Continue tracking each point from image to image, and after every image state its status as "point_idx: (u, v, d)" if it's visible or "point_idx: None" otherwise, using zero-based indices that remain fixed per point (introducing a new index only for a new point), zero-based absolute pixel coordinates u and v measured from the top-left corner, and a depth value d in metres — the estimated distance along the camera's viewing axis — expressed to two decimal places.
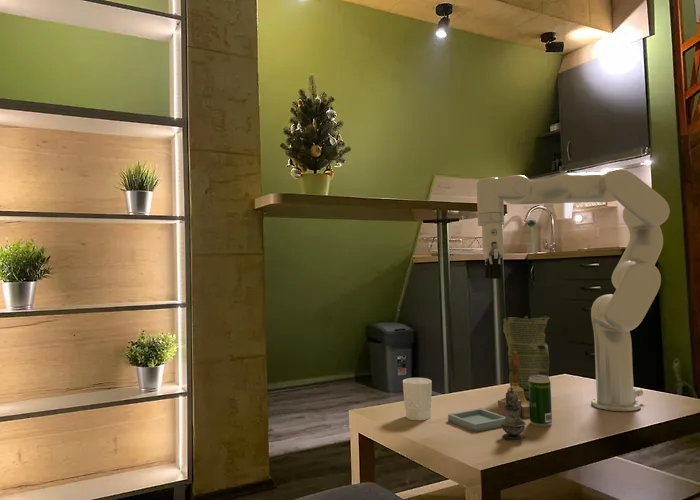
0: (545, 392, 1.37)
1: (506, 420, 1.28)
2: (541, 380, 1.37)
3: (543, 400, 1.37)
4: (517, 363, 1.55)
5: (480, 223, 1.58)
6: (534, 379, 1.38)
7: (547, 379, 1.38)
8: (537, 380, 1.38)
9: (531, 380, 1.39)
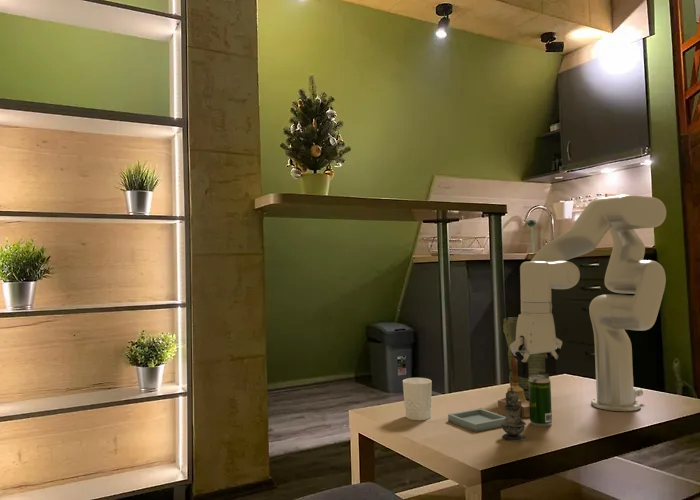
0: (545, 392, 1.37)
1: (506, 420, 1.28)
2: (541, 380, 1.37)
3: (543, 400, 1.37)
4: None
5: (551, 313, 1.38)
6: (534, 379, 1.38)
7: (547, 379, 1.38)
8: (537, 380, 1.38)
9: (531, 380, 1.39)
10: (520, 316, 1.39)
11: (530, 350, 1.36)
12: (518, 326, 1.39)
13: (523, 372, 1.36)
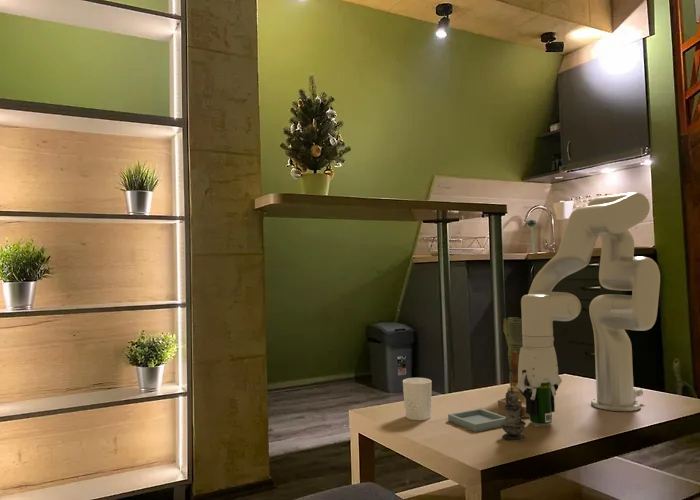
0: (545, 392, 1.37)
1: (506, 420, 1.28)
2: None
3: (543, 400, 1.37)
4: (517, 363, 1.55)
5: (552, 346, 1.38)
6: None
7: (547, 379, 1.38)
8: None
9: None
10: (522, 350, 1.39)
11: (533, 385, 1.36)
12: (520, 360, 1.39)
13: (532, 410, 1.37)
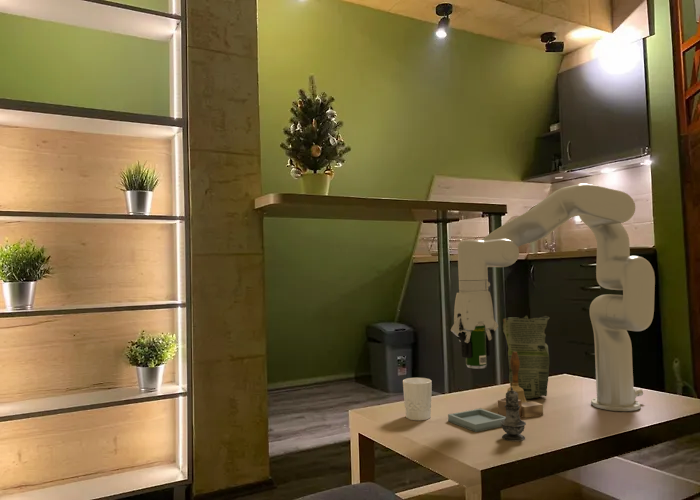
0: (479, 335, 1.39)
1: (506, 420, 1.28)
2: None
3: (477, 343, 1.39)
4: (517, 363, 1.55)
5: (487, 290, 1.40)
6: None
7: (482, 322, 1.40)
8: None
9: None
10: (457, 295, 1.41)
11: (467, 327, 1.38)
12: (456, 304, 1.41)
13: (466, 352, 1.40)
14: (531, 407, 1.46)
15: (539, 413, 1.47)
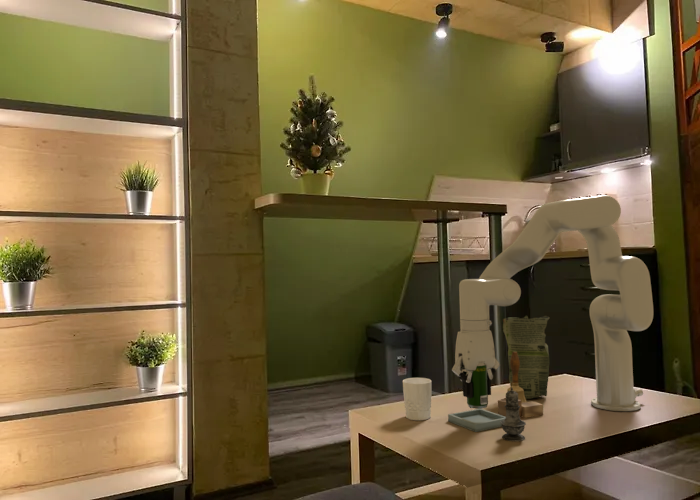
0: (481, 375, 1.39)
1: (506, 420, 1.28)
2: None
3: (479, 383, 1.39)
4: (517, 363, 1.55)
5: (488, 330, 1.40)
6: None
7: (483, 362, 1.40)
8: None
9: None
10: (459, 334, 1.41)
11: (468, 367, 1.38)
12: (457, 343, 1.41)
13: (467, 392, 1.39)
14: (531, 407, 1.46)
15: (539, 413, 1.47)
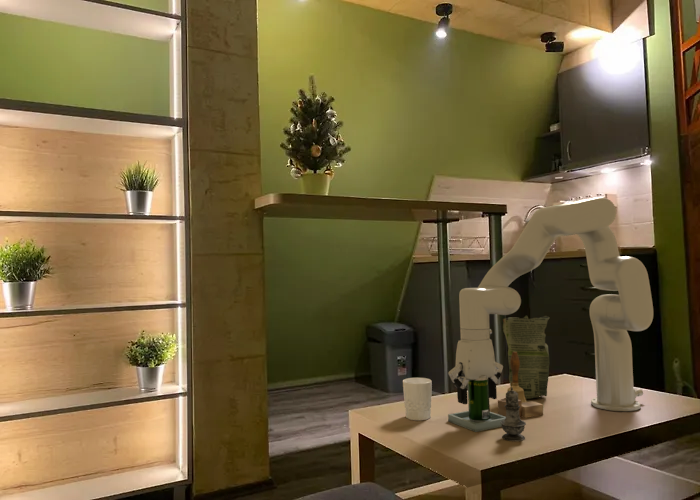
0: (482, 389, 1.39)
1: (506, 420, 1.28)
2: None
3: (480, 397, 1.39)
4: (517, 363, 1.55)
5: (489, 339, 1.40)
6: None
7: (484, 376, 1.40)
8: None
9: None
10: (459, 343, 1.41)
11: (468, 377, 1.38)
12: (457, 353, 1.41)
13: (462, 398, 1.38)
14: (531, 407, 1.46)
15: (539, 413, 1.47)
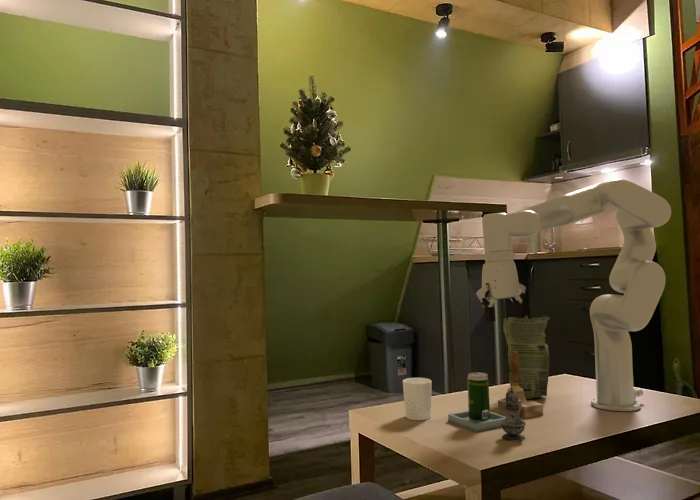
0: (482, 389, 1.39)
1: (506, 420, 1.28)
2: (478, 377, 1.39)
3: (480, 397, 1.39)
4: (517, 363, 1.55)
5: (512, 260, 1.48)
6: (472, 376, 1.40)
7: (484, 377, 1.40)
8: (474, 377, 1.40)
9: (469, 377, 1.41)
10: (484, 265, 1.49)
11: (495, 295, 1.46)
12: (483, 275, 1.49)
13: (490, 316, 1.47)
14: (532, 407, 1.46)
15: (539, 413, 1.47)
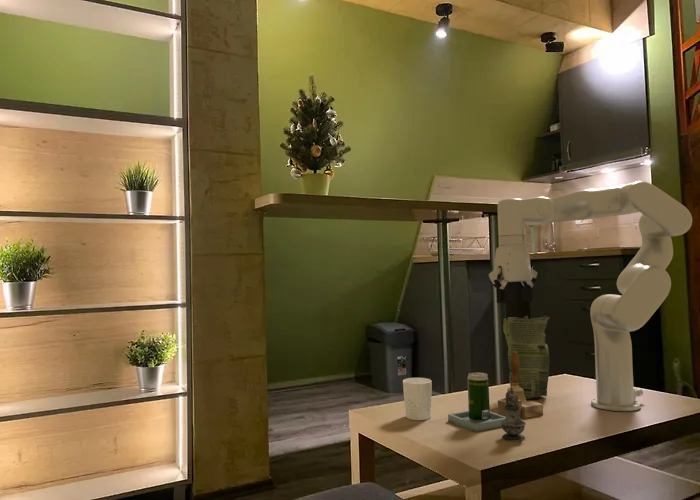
0: (482, 389, 1.39)
1: (506, 420, 1.28)
2: (478, 377, 1.39)
3: (480, 397, 1.39)
4: (517, 363, 1.55)
5: (525, 245, 1.52)
6: (472, 376, 1.40)
7: (485, 376, 1.40)
8: (475, 377, 1.40)
9: (469, 377, 1.41)
10: (498, 249, 1.53)
11: (507, 278, 1.51)
12: (496, 258, 1.53)
13: (501, 298, 1.51)
14: (532, 407, 1.46)
15: (539, 413, 1.47)
